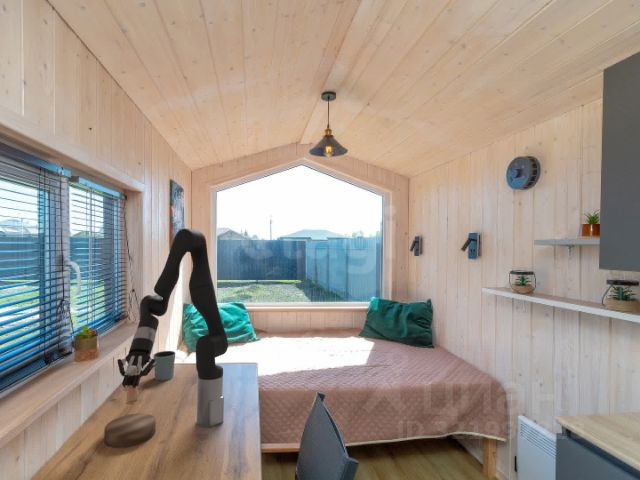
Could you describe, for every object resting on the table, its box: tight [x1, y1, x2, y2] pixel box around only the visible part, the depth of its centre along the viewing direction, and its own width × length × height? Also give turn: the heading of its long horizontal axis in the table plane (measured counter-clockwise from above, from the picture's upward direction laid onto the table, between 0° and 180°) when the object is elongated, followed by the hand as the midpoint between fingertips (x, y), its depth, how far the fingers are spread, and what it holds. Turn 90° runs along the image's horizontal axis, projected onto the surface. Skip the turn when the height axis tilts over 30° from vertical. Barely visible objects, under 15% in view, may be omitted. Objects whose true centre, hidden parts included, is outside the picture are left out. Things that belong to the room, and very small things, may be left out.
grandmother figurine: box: [123, 365, 139, 406], centre depth 130 cm, size 8×4×13 cm, turn 8°
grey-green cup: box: [152, 350, 176, 382], centre depth 185 cm, size 10×10×12 cm
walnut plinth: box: [103, 412, 157, 449], centre depth 130 cm, size 16×16×4 cm
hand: (129, 386), depth 128 cm, fingers closed on grandmother figurine, 2 cm apart
